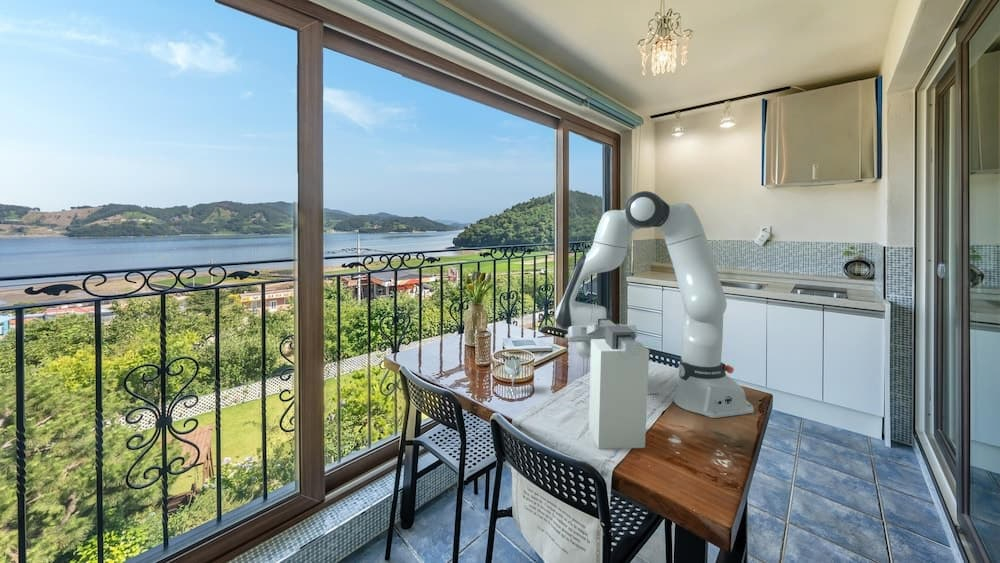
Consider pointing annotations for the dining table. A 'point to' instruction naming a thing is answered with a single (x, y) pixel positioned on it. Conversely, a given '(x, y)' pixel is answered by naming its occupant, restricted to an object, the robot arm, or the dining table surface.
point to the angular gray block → (620, 339)
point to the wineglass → (512, 370)
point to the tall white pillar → (618, 392)
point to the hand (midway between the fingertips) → (608, 326)
